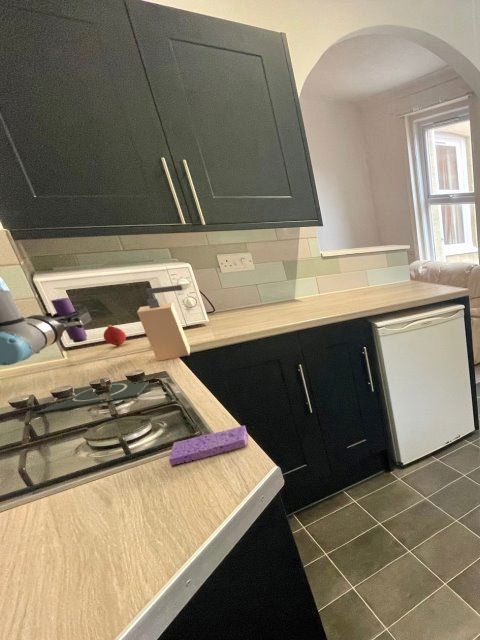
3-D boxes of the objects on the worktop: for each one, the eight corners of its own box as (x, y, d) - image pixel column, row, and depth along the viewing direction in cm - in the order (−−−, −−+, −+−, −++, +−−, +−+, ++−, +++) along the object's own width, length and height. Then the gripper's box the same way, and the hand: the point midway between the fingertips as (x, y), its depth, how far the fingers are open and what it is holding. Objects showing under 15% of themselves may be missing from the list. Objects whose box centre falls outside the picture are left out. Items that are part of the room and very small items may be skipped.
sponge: (247, 447, 83) (244, 439, 83) (170, 467, 78) (166, 459, 77) (248, 432, 89) (245, 424, 88) (176, 450, 84) (172, 442, 83)
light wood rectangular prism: (157, 361, 135) (128, 293, 126) (159, 354, 141) (132, 289, 132) (204, 352, 141) (180, 286, 132) (204, 346, 148) (181, 283, 139)
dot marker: (69, 343, 118) (48, 301, 113) (75, 340, 121) (54, 299, 116) (85, 341, 119) (65, 299, 114) (91, 338, 122) (71, 297, 117)
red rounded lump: (125, 342, 156) (116, 321, 153) (132, 344, 153) (122, 323, 150) (106, 347, 152) (96, 326, 148) (112, 349, 149) (102, 327, 146)
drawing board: (37, 414, 102) (35, 412, 102) (66, 391, 114) (65, 389, 114) (138, 396, 109) (137, 394, 109) (155, 377, 122) (154, 374, 122)
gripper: (-4, 354, 100) (46, 330, 120) (85, 341, 106) (118, 321, 126) (-21, 323, 97) (32, 304, 117) (71, 313, 103) (107, 296, 123)
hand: (77, 313), depth 121 cm, fingers closed on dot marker, 4 cm apart
